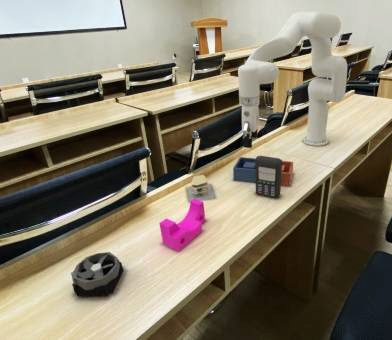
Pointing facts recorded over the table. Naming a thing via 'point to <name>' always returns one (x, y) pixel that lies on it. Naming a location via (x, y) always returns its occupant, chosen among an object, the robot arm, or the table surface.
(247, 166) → the slate block
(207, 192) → the stacked layers on plate
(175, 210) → the table surface
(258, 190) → the card reader
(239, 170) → the slate bin
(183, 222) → the toy block
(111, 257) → the cpu cooler
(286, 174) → the terracotta bin
